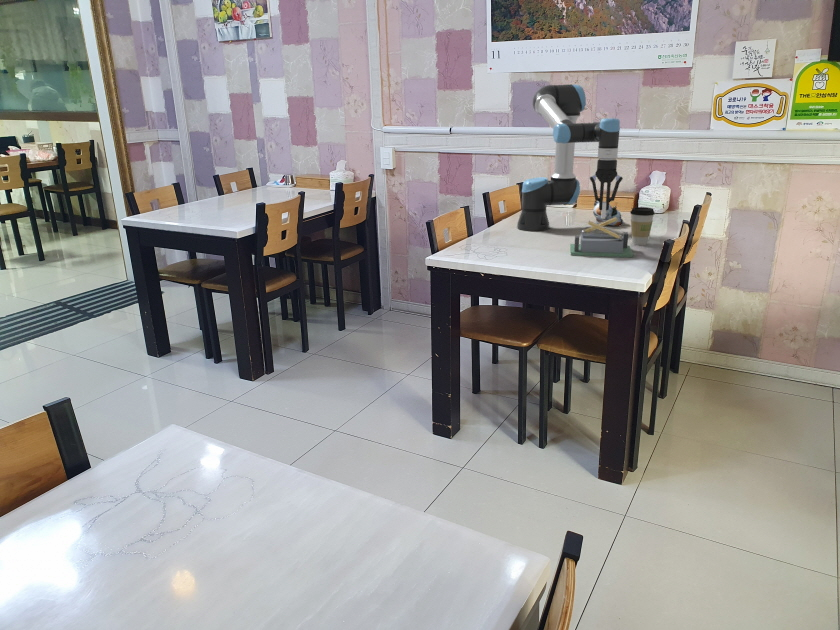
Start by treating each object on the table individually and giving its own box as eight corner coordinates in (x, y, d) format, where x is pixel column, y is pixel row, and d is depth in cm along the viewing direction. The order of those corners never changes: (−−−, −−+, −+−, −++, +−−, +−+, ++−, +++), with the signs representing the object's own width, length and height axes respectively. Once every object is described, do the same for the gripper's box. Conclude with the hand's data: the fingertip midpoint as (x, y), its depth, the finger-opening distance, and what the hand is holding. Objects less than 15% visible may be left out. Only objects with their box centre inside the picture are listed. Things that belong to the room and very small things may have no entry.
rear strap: (582, 235, 269) (581, 232, 269) (582, 233, 273) (581, 230, 273) (617, 221, 265) (616, 217, 264) (617, 219, 268) (615, 215, 268)
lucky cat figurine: (626, 226, 313) (619, 202, 306) (602, 236, 316) (594, 212, 308) (618, 212, 325) (610, 188, 318) (594, 221, 328) (586, 198, 320)
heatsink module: (570, 255, 263) (571, 238, 261) (570, 246, 277) (571, 230, 274) (632, 257, 258) (634, 239, 256) (629, 248, 272) (630, 231, 270)
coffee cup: (653, 246, 274) (656, 211, 269) (628, 246, 276) (631, 210, 271) (650, 241, 283) (653, 207, 278) (626, 241, 285) (629, 206, 280)
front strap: (621, 239, 262) (623, 235, 261) (621, 241, 258) (623, 237, 258) (587, 223, 262) (589, 219, 262) (587, 225, 259) (589, 221, 258)
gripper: (590, 159, 257) (587, 219, 265) (625, 160, 255) (620, 220, 262) (590, 158, 264) (586, 216, 272) (623, 158, 262) (619, 216, 269)
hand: (603, 218), depth 267 cm, fingers closed
